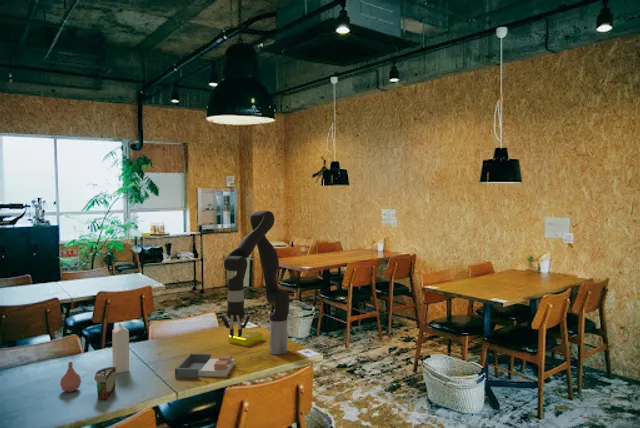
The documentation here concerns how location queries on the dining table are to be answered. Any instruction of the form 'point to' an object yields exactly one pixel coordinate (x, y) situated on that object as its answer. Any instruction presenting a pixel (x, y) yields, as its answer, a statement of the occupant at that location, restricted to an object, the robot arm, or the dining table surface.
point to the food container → (105, 382)
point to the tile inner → (225, 358)
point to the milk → (120, 348)
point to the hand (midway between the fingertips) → (235, 336)
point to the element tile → (246, 338)
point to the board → (209, 370)
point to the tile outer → (220, 365)
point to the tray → (191, 366)
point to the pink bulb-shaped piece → (70, 379)
